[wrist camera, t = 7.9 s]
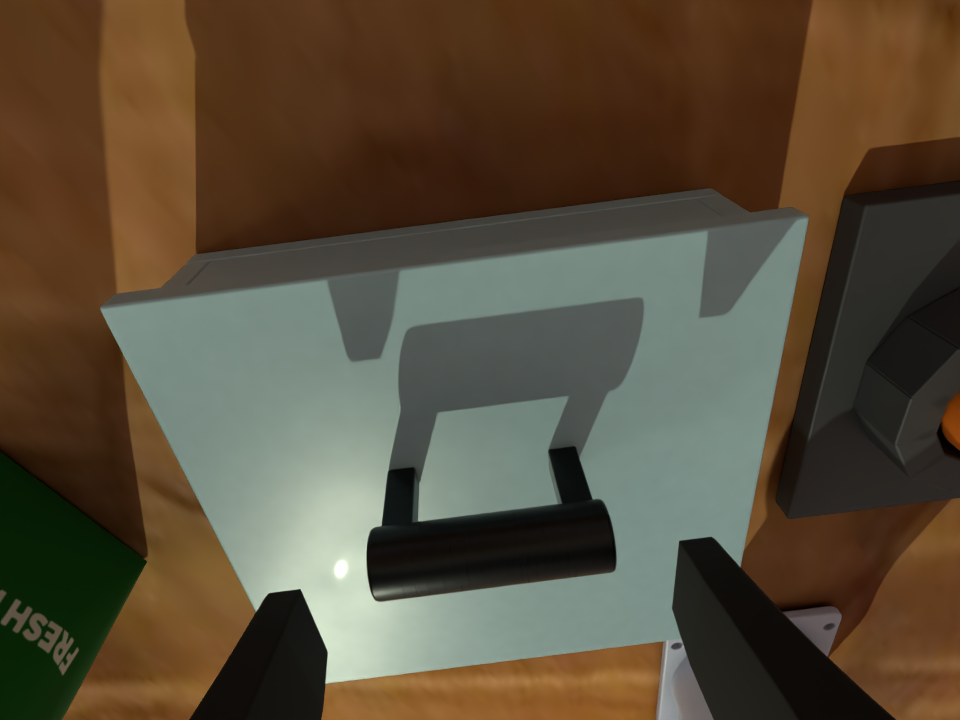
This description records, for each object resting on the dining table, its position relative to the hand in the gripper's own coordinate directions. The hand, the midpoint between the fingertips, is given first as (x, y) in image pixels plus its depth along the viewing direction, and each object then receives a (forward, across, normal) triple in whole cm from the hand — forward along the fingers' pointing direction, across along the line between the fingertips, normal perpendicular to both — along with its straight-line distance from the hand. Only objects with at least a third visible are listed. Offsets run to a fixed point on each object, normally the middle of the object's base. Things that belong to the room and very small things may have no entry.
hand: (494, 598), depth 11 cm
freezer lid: (+4, 0, +1) cm, 5 cm away
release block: (+8, -16, +2) cm, 18 cm away
